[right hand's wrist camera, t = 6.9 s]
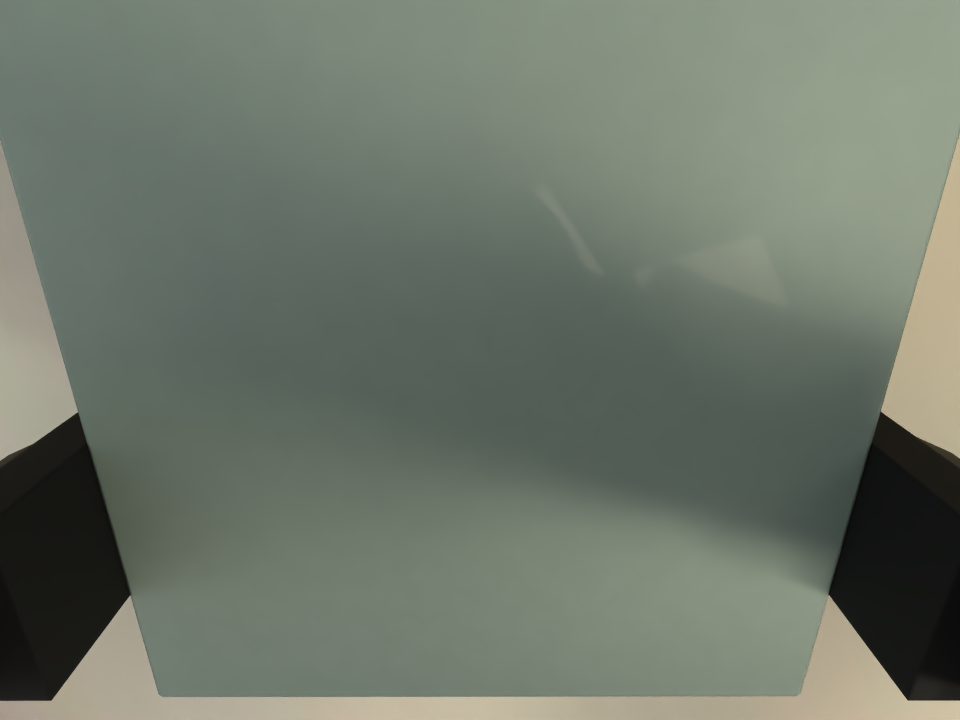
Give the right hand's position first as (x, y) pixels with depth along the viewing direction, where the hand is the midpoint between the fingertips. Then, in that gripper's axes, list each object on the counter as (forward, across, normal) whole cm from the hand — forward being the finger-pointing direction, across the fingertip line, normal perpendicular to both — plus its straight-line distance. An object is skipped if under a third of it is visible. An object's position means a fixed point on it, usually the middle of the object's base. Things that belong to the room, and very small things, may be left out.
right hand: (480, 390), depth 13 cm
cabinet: (+5, 0, -6) cm, 8 cm away
